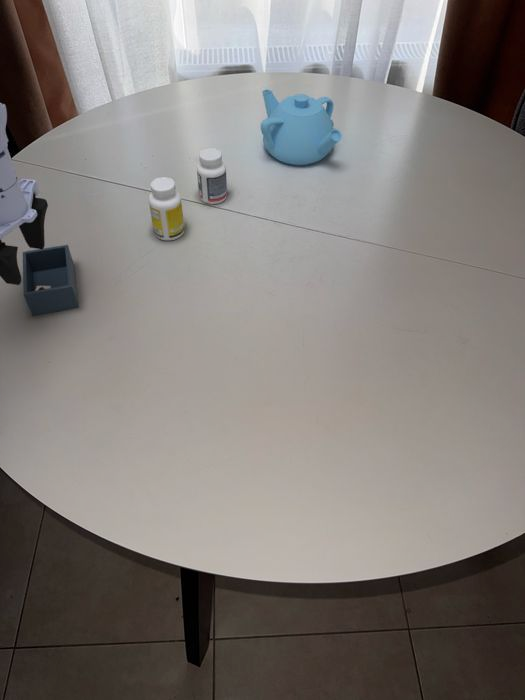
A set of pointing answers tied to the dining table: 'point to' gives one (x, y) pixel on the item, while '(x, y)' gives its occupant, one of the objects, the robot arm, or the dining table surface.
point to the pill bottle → (211, 176)
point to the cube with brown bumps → (42, 287)
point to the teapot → (298, 128)
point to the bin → (49, 280)
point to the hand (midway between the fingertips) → (25, 264)
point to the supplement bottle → (166, 209)
